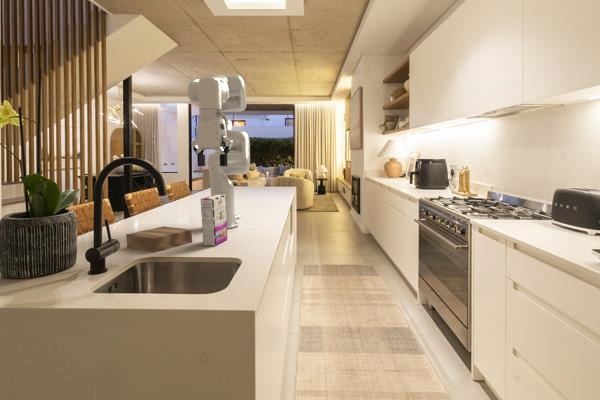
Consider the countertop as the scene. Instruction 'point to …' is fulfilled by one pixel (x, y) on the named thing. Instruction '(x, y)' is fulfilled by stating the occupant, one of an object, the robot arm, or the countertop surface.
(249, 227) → the countertop surface
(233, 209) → the robot arm
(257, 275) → the countertop surface
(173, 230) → the walnut block
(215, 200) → the candy bar box
